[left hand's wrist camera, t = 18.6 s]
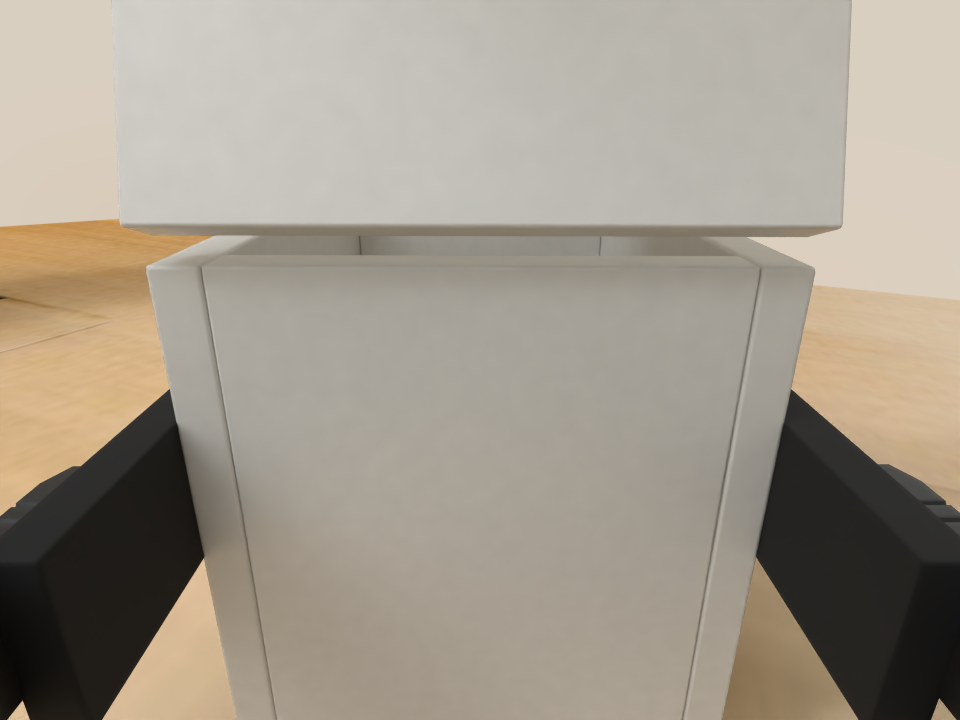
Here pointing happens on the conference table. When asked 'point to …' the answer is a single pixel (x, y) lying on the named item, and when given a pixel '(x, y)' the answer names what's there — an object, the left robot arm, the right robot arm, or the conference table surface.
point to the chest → (479, 466)
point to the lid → (481, 117)
